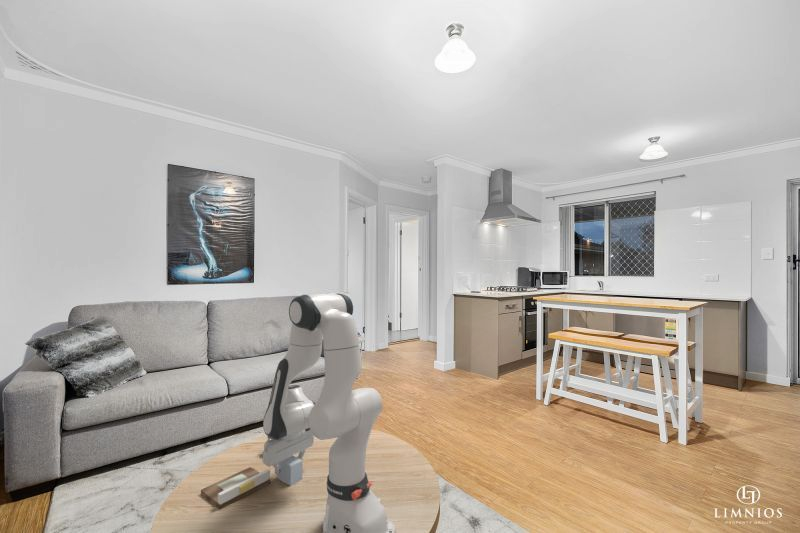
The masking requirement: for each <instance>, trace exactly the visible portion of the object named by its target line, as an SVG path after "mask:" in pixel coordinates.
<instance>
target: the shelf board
mask: <svg viewBox="0 0 800 533" xmlns="http://www.w3.org/2000/svg"><path fill="white" fill-rule="evenodd" d="M259 473H260V472H259V471H258V470H256V469H254V468H252V467H251V466H249V467H247V468H244V469H243V470H240V471H238V472H236V473H235V474H232V475H230V476H227V477H226V478H224V479H221V480H220V481H217V482H215V483H213V484H210V485H208V486H206V487H204V488H202V489H200V495H201V496H202V497H203V498H205V499H206V500H207V501H209V502H210V503H211V504H212V505H213V506H215V507H216V508H218V509H219V510H222V509H223V508H226V507H228V506H230V505H231V504H233V503H236V502H237V501H239V500H241V499H242V498H244V497H247V496H248V495H250V494H252V493H254V492H255V491H258V490H260V489H262V488H264V487H266V486H267V485H269V484H270V483H271V478H270V479H269V480H267V481H265V482H263V483H261V484H259V485H257V486H255V487H254V488H252V489H250V490H248V491H246V492H244V493H242V494H240V495H238V496H236V497H234V498H232V499H230V500H228V501H226V502H224V503H223V504H221V505H220V504H219V503H218V493H220V492H222V491H224V490H226V489H228V488H230V487H232V486H234V485H236V484H238V483H240V482H242V481H245V480H247V479H249V478H251V477H253V476H255V475H257V474H259Z"/></svg>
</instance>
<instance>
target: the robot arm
mask: <svg viewBox="0 0 800 533" xmlns="http://www.w3.org/2000/svg"><path fill="white" fill-rule="evenodd" d="M353 314H354V305H353V301H352V299H351V298H350V297H349V296H348V295H346V294H344V293H322V292H319V293H313V294H312V293H311V294H302V295H298V296H297V297H294V298H293V299H292V300H291V302H290V305H289V307H288V315H289V320H290V322H291V327H290V332H289V333H290V334H289V343H288V344H289V345H288V348H287V351H286V353H285V356H284V357H283V358H282V359H281V360H280V361H279V362H278V364H277V367H276V369H275V370H276V371H275V373H274V374H275V375H274V379H273V384H272V387H271V391H270V395H269V396H270V397H269V401H268V405H267V409H266V411H265V413H264V416H263V420H262V421H263V422H262V425H263V431H264V433H265V435H266V436H267V437H268V436H269V437H270V438H269V439H268V438H267V440H266V441H265V442H264V445H263V451H262V452H263V453H262V454H263V455H262V463H263V464H264V465H265V466H267V467H272V466H273V468H274V473H275V474H276V475H278V474H279V473H281V468H280V467H279V466H278V465H279V462H280V461H282V460H284V459H286V458H288V457H290V456H295V455H297V454H298V456H296V457H297V458H299V459H301V460H302V462H303V458H304V455H305V453H306V449H307V450H308V448H311V447H313V445H314V441H315V438H316V439H318V440H320V441H321V440H322V441H324V440H331V439H335V438H336V440H334V442H333V443H332V445H331V446H330V448H329V453H328V475H327V477H326V491H327V498H326V505H325V513H324V517H323V520H322V533H396V526H395V524H394V523H393V522H392V521H390V520H389V519H388V514H387V510H386V507H385V506H384V505H383V501H382V499H380V497H377V496H376V495H375V492H373V491H372V490H371V487H372V485H373V483H372V482H373V480H370V481H369V479H368V478H369V477H368V474H367V472H366V459H367V458H366V455H367V448H368V447H367V446H368V444H369V443H368V442H369V438H370V436H371V433H372V430H373V427H374V425H375V422H376V420H378V417H379V416H380V415H381V413H382V411H383V407H384V406H383V405H384V404H383V403H384V402H383V399H382V396H381V394H380V393H379V391H377V389H375V388H374V387H359V388H356V389H353V387H354V383H355V382H356V380H357V379H358V377H359V376H360V375H361V372H362V359H361V349H360V348H361V347H360V341H359V340H360V339H359V334H358V328H357V325H356V321H355V319H354V316H353ZM322 351H323V355H324V356H323V358H324V379H323V386H322V388H321V392H320V394H319V397H318V399H317V401H316V402H315V401H313V400H312V399H310V398H308V397H307V396H306V395H305V392H304V391H303V387H302V386H301V385H298V384H293V385H291V383H292V381H293V380H295V378H297V377H298V376H299V375H301V374H302V373H304V372H306V371H308V370H309V369H310V368H312V367H313V366H315V364H317V363H318V362H319V360H320V359H321V355H322Z"/></svg>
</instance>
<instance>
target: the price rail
mask: <svg viewBox="0 0 800 533" xmlns="http://www.w3.org/2000/svg"><path fill="white" fill-rule="evenodd" d="M269 479H270V480H271V470H270V469H268V468H267V469H265V470H263V471H261V472H259V474H257V475H255V476H253V477H251V478H249V479H247V480H245V481H242V482H240V483H238V484H236V485H234V486H232V487H230V488H228V489H226V490H224V491H222V492H220V493H218V503H219V504H220V505H221V504H223V503H224V502H226V501H228V500H230V499H232V498H234V497H236V496H238V495H240V494H242V493H244V492H246V491H248V490H250V489H252V488H254V487H255V486H257V485H259V484H261V483H263V482H265V481H267V480H269Z"/></svg>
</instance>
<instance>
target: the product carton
mask: <svg viewBox="0 0 800 533" xmlns="http://www.w3.org/2000/svg"><path fill="white" fill-rule="evenodd" d="M297 457H298V456H295V455H293V456H290V457H288V458H286V459H284V460H282V461H280V462H279V465H277V466H279V467H280V468H281V473H279V474H277V479H278V480H279V481H282V482H283V483H285V484H287V485H288V486H290V487H292V486H293V485H295V484H297V483H299V482H301V481H302V480H303V461H302V460H301V459H299V458H297Z"/></svg>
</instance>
